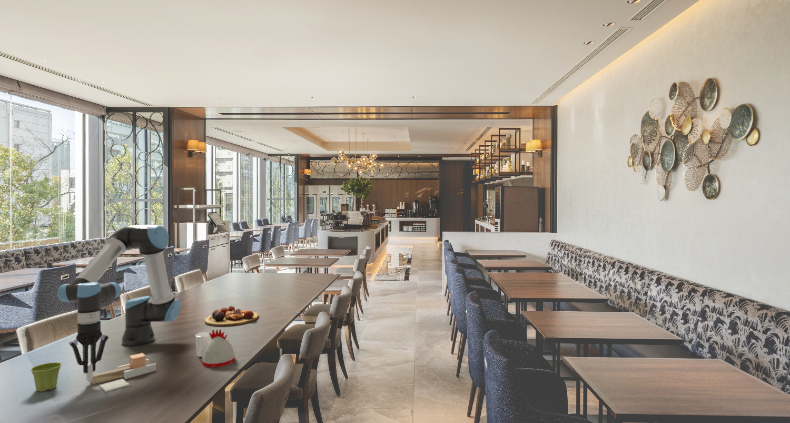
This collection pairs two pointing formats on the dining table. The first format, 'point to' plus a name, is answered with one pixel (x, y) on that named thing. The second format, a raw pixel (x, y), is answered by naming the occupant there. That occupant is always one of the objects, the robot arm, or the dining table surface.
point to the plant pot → (46, 376)
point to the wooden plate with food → (230, 317)
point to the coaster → (114, 385)
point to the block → (137, 360)
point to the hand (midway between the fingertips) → (89, 380)
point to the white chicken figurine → (218, 351)
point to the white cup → (202, 342)
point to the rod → (109, 375)
